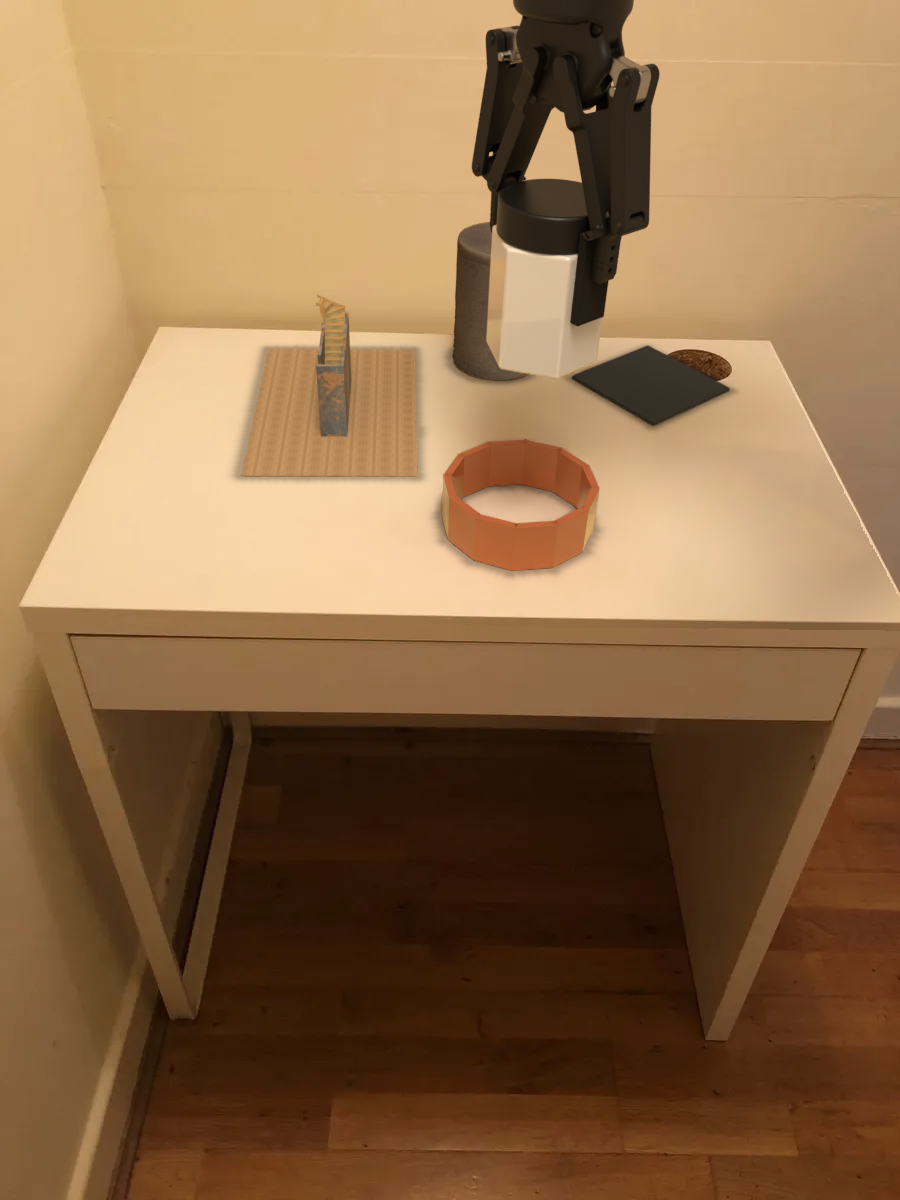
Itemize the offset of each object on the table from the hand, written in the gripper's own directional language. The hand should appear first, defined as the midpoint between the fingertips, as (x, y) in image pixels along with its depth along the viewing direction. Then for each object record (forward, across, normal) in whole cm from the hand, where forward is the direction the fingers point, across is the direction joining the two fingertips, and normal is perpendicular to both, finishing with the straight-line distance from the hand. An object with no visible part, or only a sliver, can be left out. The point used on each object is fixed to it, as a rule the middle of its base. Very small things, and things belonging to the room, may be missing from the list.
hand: (545, 298), depth 74 cm
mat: (+20, -10, +27) cm, 35 cm away
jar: (+5, 0, 0) cm, 5 cm away
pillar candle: (+21, -24, +17) cm, 36 cm away
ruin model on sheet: (+21, -26, -3) cm, 33 cm away
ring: (+21, 0, -1) cm, 21 cm away
